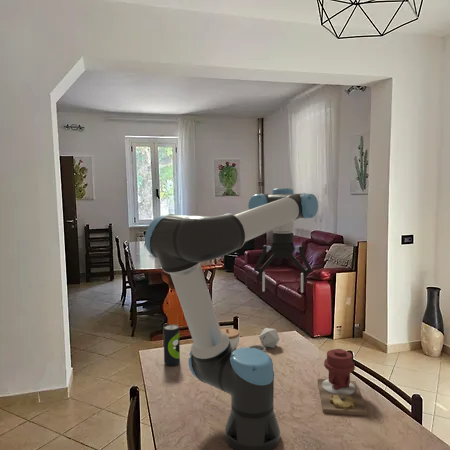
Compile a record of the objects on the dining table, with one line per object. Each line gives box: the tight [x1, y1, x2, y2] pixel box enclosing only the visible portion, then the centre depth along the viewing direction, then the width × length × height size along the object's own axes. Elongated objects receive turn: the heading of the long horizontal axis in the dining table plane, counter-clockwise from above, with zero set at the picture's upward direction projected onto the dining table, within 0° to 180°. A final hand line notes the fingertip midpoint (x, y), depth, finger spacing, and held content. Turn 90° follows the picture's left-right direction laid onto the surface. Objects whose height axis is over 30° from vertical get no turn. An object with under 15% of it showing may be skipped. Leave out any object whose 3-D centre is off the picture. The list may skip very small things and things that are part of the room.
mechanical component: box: [323, 348, 356, 390], centre depth 131 cm, size 12×10×10 cm
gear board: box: [317, 378, 368, 417], centre depth 127 cm, size 20×13×3 cm, turn 171°
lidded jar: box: [220, 327, 241, 350], centre depth 168 cm, size 11×11×9 cm
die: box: [258, 327, 281, 349], centre depth 171 cm, size 8×9×10 cm
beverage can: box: [163, 324, 181, 367], centre depth 154 cm, size 6×6×15 cm
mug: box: [247, 344, 267, 354], centre depth 155 cm, size 10×7×7 cm, turn 27°
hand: (282, 291), depth 138 cm, fingers open, 13 cm apart
